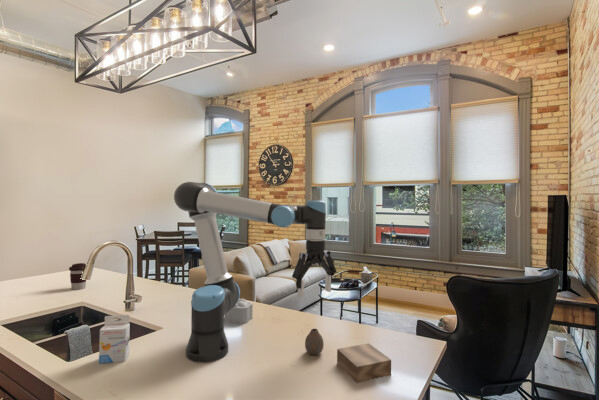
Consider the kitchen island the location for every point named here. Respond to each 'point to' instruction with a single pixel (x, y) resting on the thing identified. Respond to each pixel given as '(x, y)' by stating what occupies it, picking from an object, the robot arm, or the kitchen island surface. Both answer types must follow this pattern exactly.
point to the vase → (314, 343)
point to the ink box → (114, 339)
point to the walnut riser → (363, 362)
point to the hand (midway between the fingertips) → (314, 293)
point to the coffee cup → (77, 276)
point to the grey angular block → (240, 312)
